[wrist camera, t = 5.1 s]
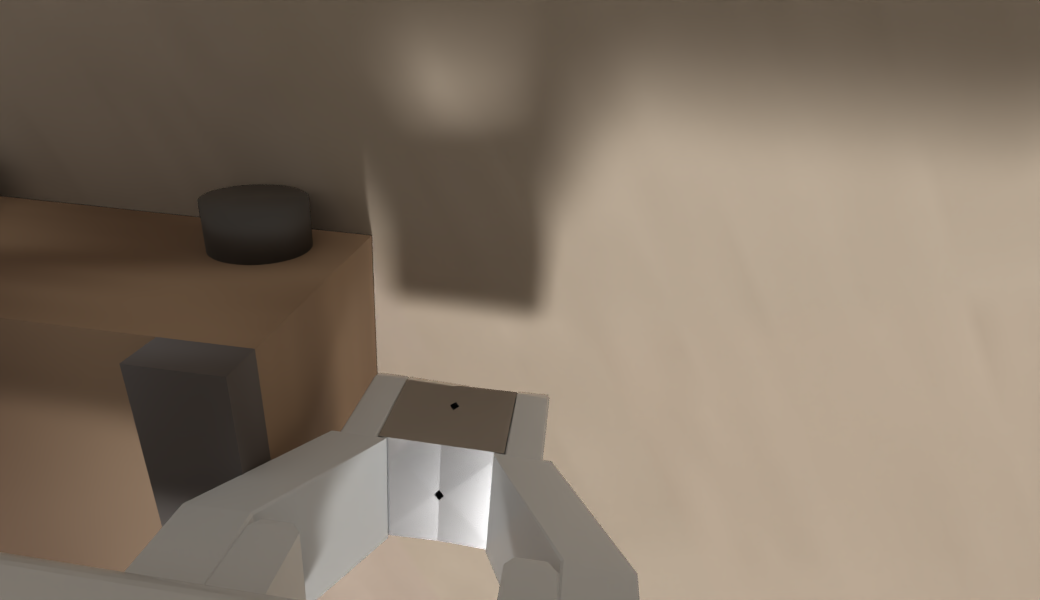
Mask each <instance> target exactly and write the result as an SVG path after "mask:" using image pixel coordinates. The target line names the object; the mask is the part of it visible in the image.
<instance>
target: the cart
mask: <svg viewBox="0 0 1040 600" xmlns="http://www.w3.org/2000/svg"><path fill="white" fill-rule="evenodd" d="M198 207H199V213H200V217H192V216H183V215H173V214H164V213H154V212H145V211H135V210H126V209H116V208H107V207H98V206H88V205H79V204H69V203H60V202H50V201H41V200H32V199H22V198H13V197H3V196H0V552H2V553H8V554H15V555H21V556H27V557H34V558H40V559H46V560H52V561H59V562H65V563H71V564H78V565H84V566H90V567H96V568H103V569H109V570H115V571H121V572H125V570H126V569H127V568H128V567H129V566H130V564H131V563H132V562H133V561H134V560H135V559H136V557H137V556H138V555H139V554H140V553H141V552H142V550H143V549H144V548H145V547H146V546H147V545H148V543H149V542H150V541H151V540H152V539H153V538H154V536H155V535H156V534H157V533H158V532H159V531H160V529H161V528H162V527H163V526H164V525H165V523H166V522H167V521H168V520H169V519H170V518H171V516H172V515H173V514H174V513H175V512H176V511H177V509H178V508H179V507H180V506H181V505H182V504H183V503H185V502H187V501H189V500H191V499H193V498H195V497H197V496H199V495H201V494H203V493H205V492H207V491H209V490H211V489H213V488H215V487H217V486H219V485H222V484H224V483H226V482H228V481H230V480H232V479H234V478H236V477H238V476H240V475H243V474H244V473H246V472H248V471H250V470H252V469H254V468H256V467H258V466H260V465H262V464H264V463H266V462H268V461H270V460H273V459H275V458H277V457H279V456H281V455H283V454H285V453H287V452H289V451H291V450H293V449H295V448H297V447H299V446H301V445H303V444H305V443H307V442H309V441H311V440H313V439H315V438H317V437H319V436H321V435H324V434H326V433H328V432H330V431H339V432H341V430H342V429H343V427H344V425H345V424H346V422H347V421H348V419H349V417H350V416H351V414H352V412H353V411H354V409H355V408H356V406H357V404H358V403H359V401H360V399H361V398H362V396H363V395H364V393H365V391H366V390H367V388H368V386H369V385H370V383H371V382H372V380H373V378H374V377H375V376H376V375H377V356H376V332H375V307H374V283H373V258H372V236H371V235H362V234H352V233H343V232H333V231H324V230H315V229H312V227H311V216H310V204H309V196H308V194H307V193H306V192H304V191H302V190H300V189H296V188H292V187H287V186H280V185H242V186H233V187H227V188H222V189H217V190H214V191H211V192H208V193H206V194H204V195H202V196H201V197H200V198H199V199H198Z"/></svg>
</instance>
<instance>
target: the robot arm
mask: <svg viewBox="0 0 1040 600" xmlns="http://www.w3.org/2000/svg"><path fill="white" fill-rule="evenodd" d="M548 407H549V396H548V395H545V394H535V393H525V392H518V393H517V392H511V391H503V390H494V389H485V388H477V387H469V386H466V385H460V384H453V383H447V382H440V381H434V380H427V379H421V378H415V377H410V378H409V377H408V376H401V375H394V374H386V373H379V374H377V375H376V376H375V377H374V378H373V380H372V382H371V383H370V385H369V386H368V388H367V390H366V391H365V393H364V395H363V396H362V398H361V399H360V401H359V403H358V404H357V406H356V408H355V409H354V411H353V412H352V414H351V416H350V417H349V419H348V421H347V422H346V424H345V425H344V427H343V429H342V430H341V432H339V431H330V432H328V433H326V434H324V435H321V436H319V437H317V438H315V439H313V440H311V441H309V442H307V443H305V444H303V445H301V446H299V447H297V448H295V449H293V450H291V451H289V452H287V453H285V454H283V455H281V456H279V457H277V458H275V459H273V460H270V461H268V462H266V463H264V464H262V465H260V466H258V467H256V468H254V469H252V470H250V471H248V472H246V473H244V474H243V475H240V476H238V477H236V478H234V479H232V480H230V481H228V482H226V483H224V484H222V485H219V486H217V487H215V488H213V489H211V490H209V491H207V492H205V493H203V494H201V495H199V496H197V497H195V498H193V499H191V500H189V501H187V502H185V503H183V504H182V505H181V506H180V507H179V508H178V509H177V511H176V512H175V513H174V514H173V515H172V516H171V518H170V519H169V520H168V521H167V522H166V523H165V525H164V526H163V527H162V528H161V529H160V531H159V532H158V533H157V534H156V535H155V536H154V538H153V539H152V540H151V541H150V542H149V543H148V545H147V546H146V547H145V548H144V549H143V550H142V552H141V553H140V554H139V555H138V556H137V557H136V559H135V560H134V561H133V562H132V563H131V564H130V566H129V567H128V568H127V569H126V570H125V572H121V571H115V570H109V569H103V568H96V567H90V566H84V565H78V564H71V563H65V562H59V561H52V560H46V559H40V558H34V557H27V556H21V555H15V554H8V553H2V552H0V600H317V599H318V598H319V597H320V596H322V595H323V594H324V593H325V592H326V591H327V590H328V589H330V588H331V587H332V586H333V585H334V584H335V583H337V582H338V581H339V580H340V579H341V578H342V577H343V576H345V575H346V574H347V573H348V572H349V571H350V570H352V569H353V568H354V567H355V566H356V565H357V564H358V563H360V562H361V561H362V560H363V559H364V558H365V557H366V556H368V555H369V554H370V553H371V552H372V551H373V550H375V549H376V548H377V547H378V546H379V545H380V544H381V543H383V542H384V541H385V540H386V539H387V538H388V535H395V536H403V537H411V538H419V539H428V540H436V541H442V542H447V543H453V544H458V545H464V546H470V547H475V548H481V549H486V554H487V556H488V559H489V561H490V563H491V566H492V568H493V570H494V573H495V575H496V578H497V580H498V582H499V585H500V587H499V593H498V598H497V600H639V588H638V576H637V573H636V571H635V570H634V569H633V567H632V566H631V565H630V563H629V562H628V561H627V559H626V558H625V557H624V555H623V554H622V553H621V552H620V550H619V549H618V548H617V546H616V545H615V544H614V542H613V541H612V540H611V538H610V537H609V536H608V535H607V533H606V532H605V531H604V529H603V528H602V527H601V525H600V524H599V523H598V521H597V520H596V519H595V518H594V516H593V515H592V514H591V512H590V511H589V510H588V508H587V507H586V506H585V504H584V503H583V502H582V500H581V499H580V498H579V497H578V495H577V494H576V493H575V491H574V490H573V489H572V487H571V486H570V485H569V483H568V482H567V481H566V480H565V478H564V477H563V476H562V474H561V473H560V472H559V470H558V469H557V468H556V466H555V465H554V464H553V463H552V462H551V461H545V460H543V452H544V443H545V434H546V425H547V416H548Z"/></svg>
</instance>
